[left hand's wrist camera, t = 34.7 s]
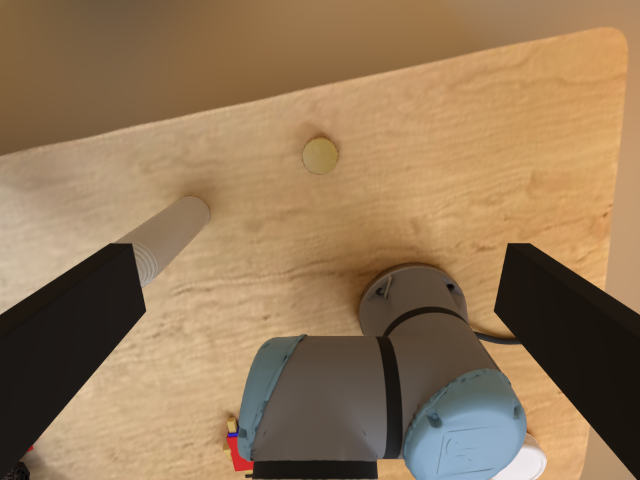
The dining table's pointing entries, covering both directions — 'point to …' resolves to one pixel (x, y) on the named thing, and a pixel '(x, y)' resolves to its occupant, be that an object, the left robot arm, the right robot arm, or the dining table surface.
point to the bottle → (166, 236)
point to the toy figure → (236, 450)
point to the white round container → (525, 462)
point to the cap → (320, 155)
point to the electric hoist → (19, 471)
